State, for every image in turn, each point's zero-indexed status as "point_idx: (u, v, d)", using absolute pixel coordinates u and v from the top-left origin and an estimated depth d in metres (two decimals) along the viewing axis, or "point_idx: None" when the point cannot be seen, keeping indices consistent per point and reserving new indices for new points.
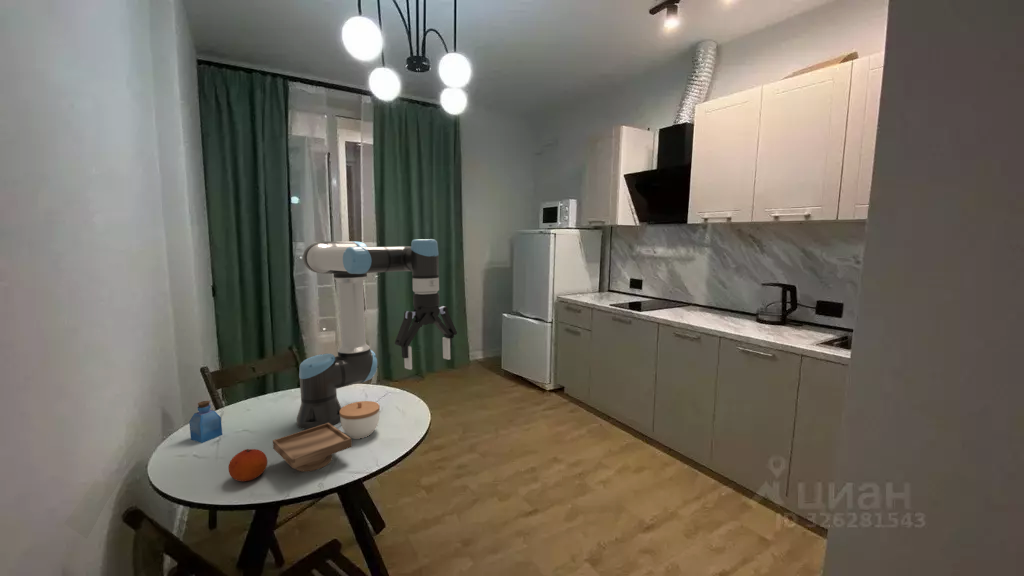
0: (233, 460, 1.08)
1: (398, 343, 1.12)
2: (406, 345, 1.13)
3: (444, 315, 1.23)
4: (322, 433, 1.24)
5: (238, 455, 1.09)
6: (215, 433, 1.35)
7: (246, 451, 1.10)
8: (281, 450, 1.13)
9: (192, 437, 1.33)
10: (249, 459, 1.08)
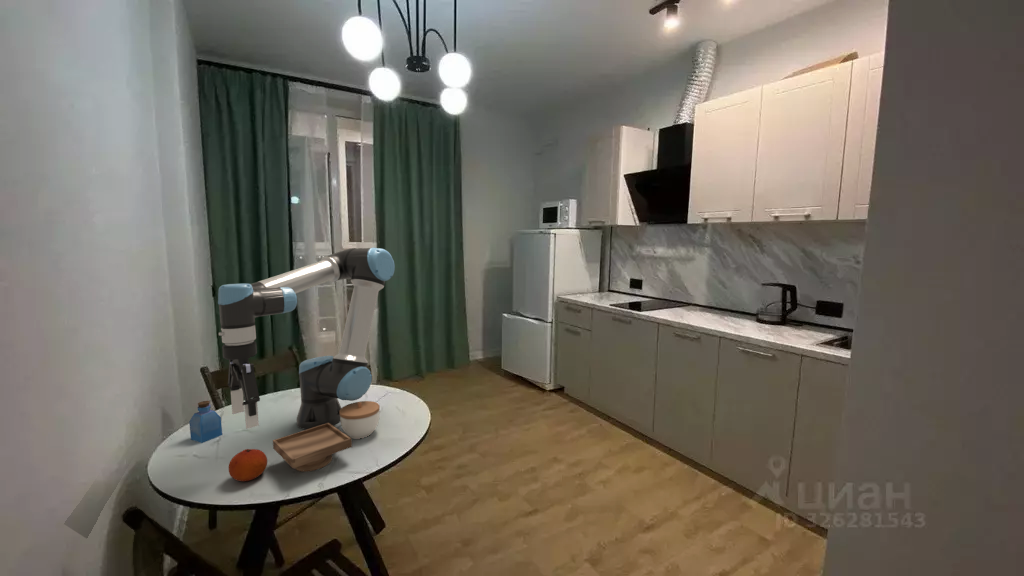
0: (233, 460, 1.08)
1: None
2: (230, 388, 1.14)
3: None
4: (322, 433, 1.24)
5: (238, 455, 1.09)
6: (215, 433, 1.35)
7: (246, 451, 1.10)
8: (281, 450, 1.13)
9: (192, 437, 1.33)
10: (249, 459, 1.08)
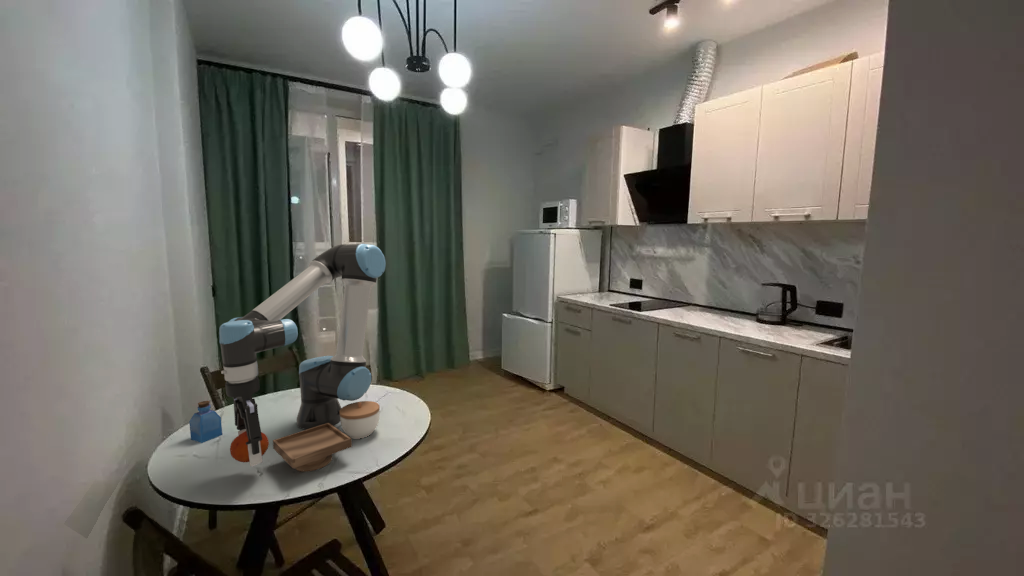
0: (234, 441, 1.08)
1: None
2: (237, 428, 1.14)
3: None
4: (322, 433, 1.24)
5: (239, 436, 1.09)
6: (215, 433, 1.35)
7: None
8: (281, 450, 1.13)
9: (192, 437, 1.33)
10: None
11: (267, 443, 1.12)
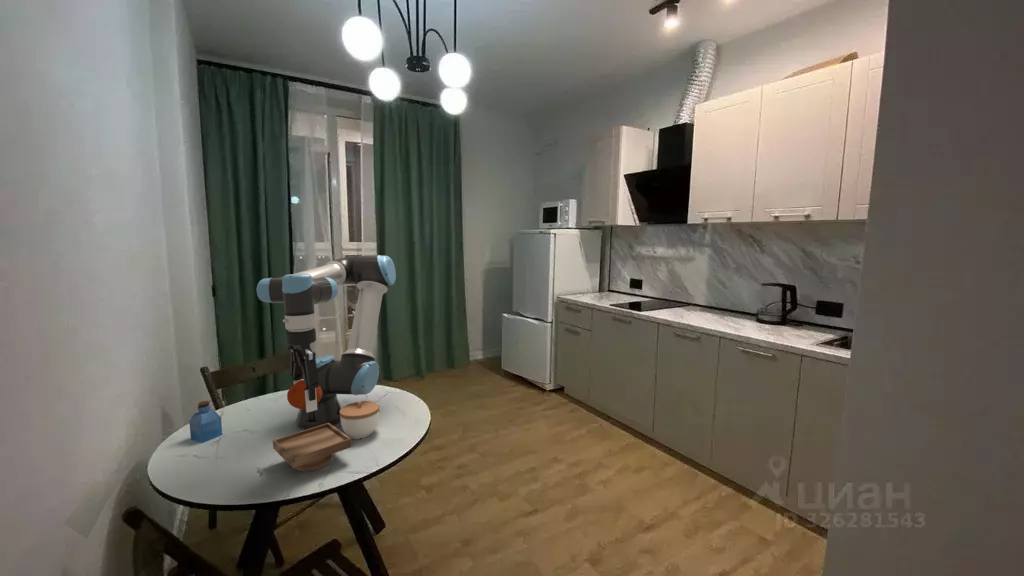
0: (291, 388, 1.14)
1: None
2: (292, 378, 1.19)
3: None
4: (322, 433, 1.24)
5: (296, 384, 1.14)
6: (215, 433, 1.35)
7: (303, 381, 1.15)
8: (281, 450, 1.13)
9: (192, 437, 1.33)
10: None
11: (321, 393, 1.17)
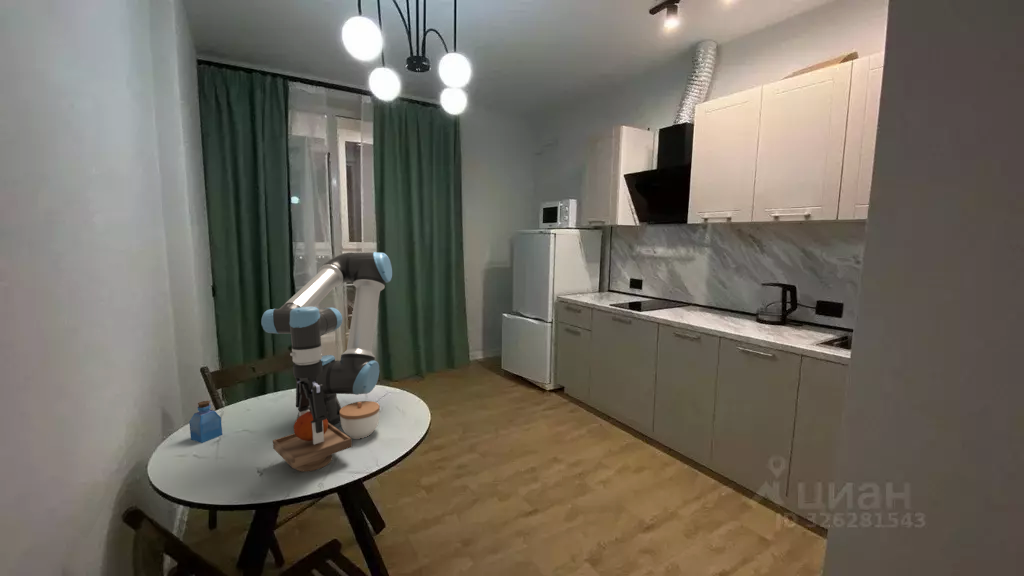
0: (298, 421, 1.15)
1: None
2: (298, 409, 1.20)
3: None
4: None
5: (302, 416, 1.16)
6: (215, 433, 1.35)
7: (310, 413, 1.17)
8: (281, 450, 1.13)
9: (192, 437, 1.33)
10: None
11: (327, 424, 1.19)
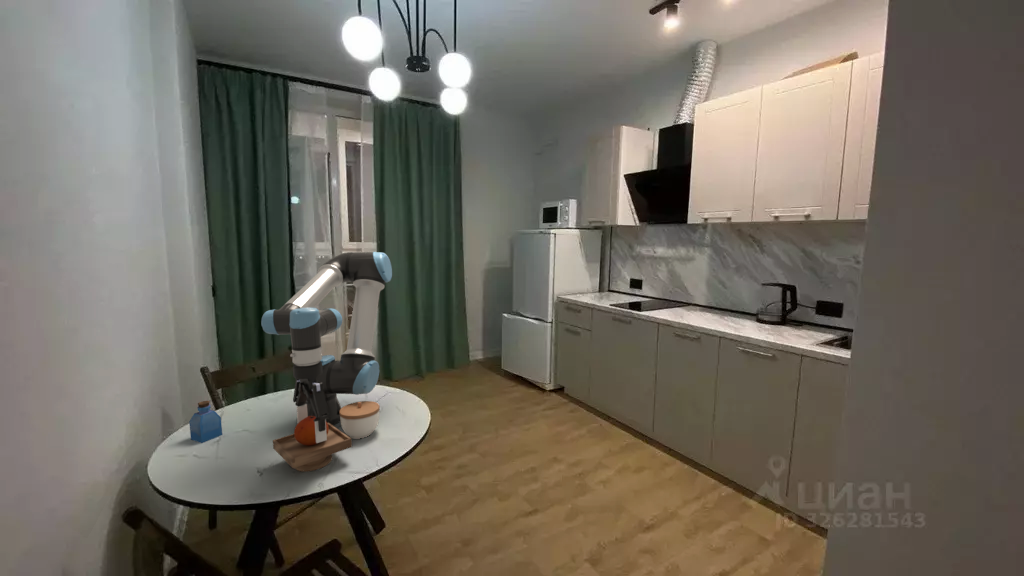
0: (299, 425, 1.15)
1: None
2: None
3: None
4: None
5: (303, 421, 1.16)
6: (215, 433, 1.35)
7: (310, 417, 1.17)
8: (281, 450, 1.13)
9: (192, 437, 1.33)
10: (313, 424, 1.15)
11: (327, 428, 1.19)
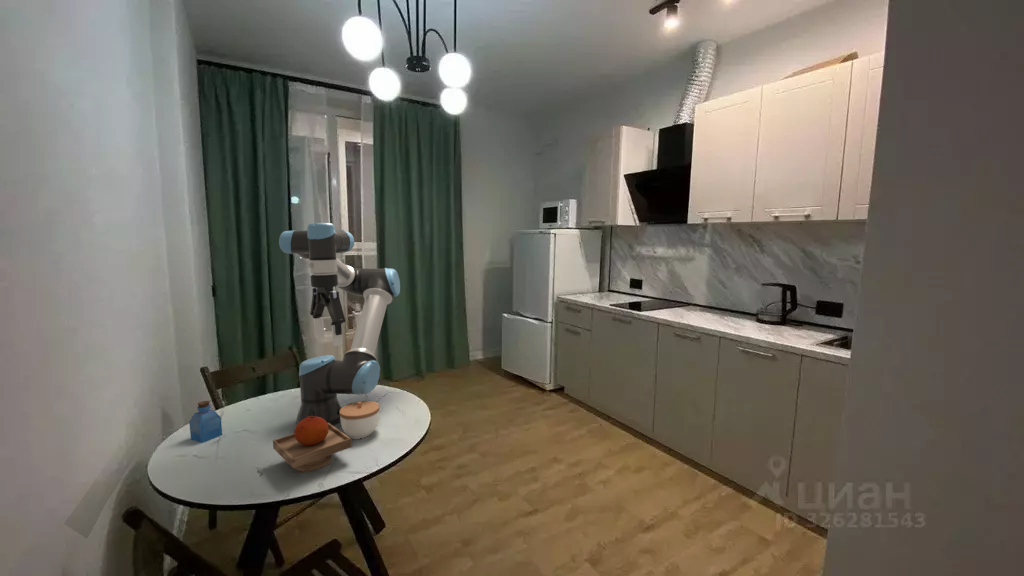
0: (299, 425, 1.15)
1: None
2: None
3: None
4: None
5: (303, 421, 1.16)
6: (215, 433, 1.35)
7: (310, 417, 1.17)
8: (281, 450, 1.13)
9: (192, 437, 1.33)
10: (314, 424, 1.15)
11: (328, 428, 1.19)
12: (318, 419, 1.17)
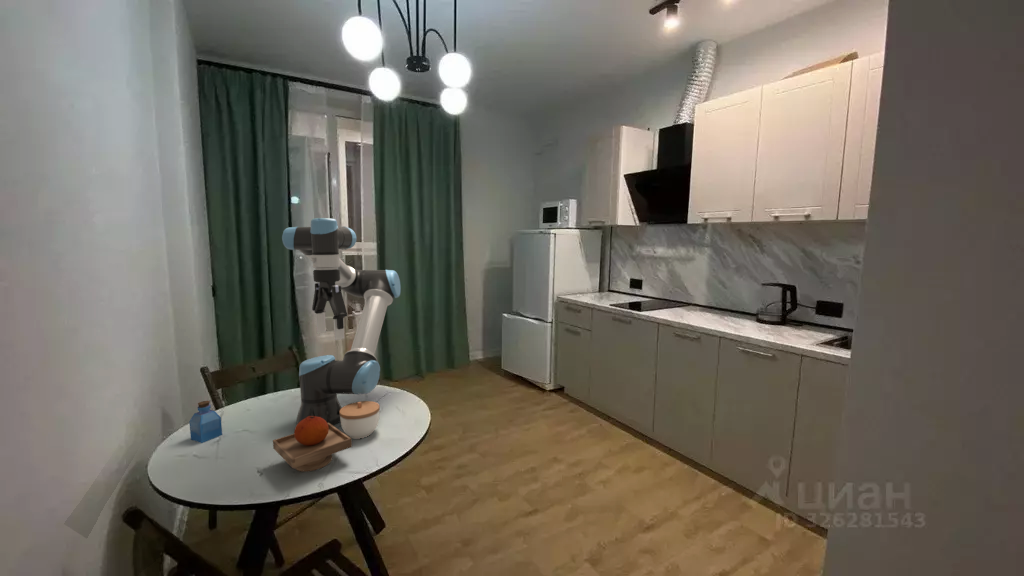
0: (299, 425, 1.15)
1: None
2: (314, 311, 1.32)
3: None
4: None
5: (303, 421, 1.16)
6: (215, 433, 1.35)
7: (310, 417, 1.17)
8: (281, 450, 1.13)
9: (192, 437, 1.33)
10: (314, 424, 1.15)
11: (328, 428, 1.19)
12: (318, 419, 1.17)
